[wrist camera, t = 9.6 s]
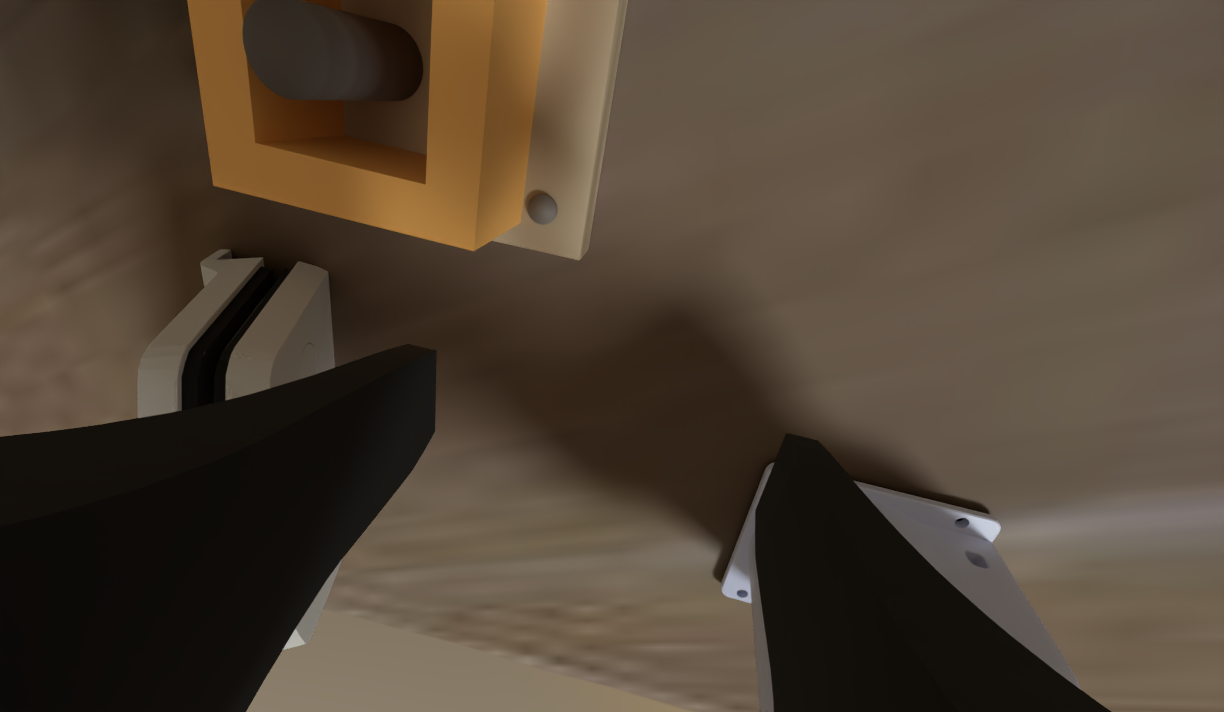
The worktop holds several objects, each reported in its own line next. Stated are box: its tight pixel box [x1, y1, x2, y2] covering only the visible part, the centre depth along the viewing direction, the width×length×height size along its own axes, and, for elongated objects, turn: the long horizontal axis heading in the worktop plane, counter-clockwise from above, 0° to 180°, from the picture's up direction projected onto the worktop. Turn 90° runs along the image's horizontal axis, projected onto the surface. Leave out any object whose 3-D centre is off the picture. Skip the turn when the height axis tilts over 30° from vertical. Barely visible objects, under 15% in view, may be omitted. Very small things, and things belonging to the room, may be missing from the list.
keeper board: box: [242, 0, 628, 260], centre depth 16 cm, size 14×10×6 cm
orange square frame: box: [187, 0, 547, 251], centre depth 15 cm, size 8×8×4 cm
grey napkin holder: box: [138, 249, 342, 650], centre depth 23 cm, size 17×5×10 cm, turn 170°
